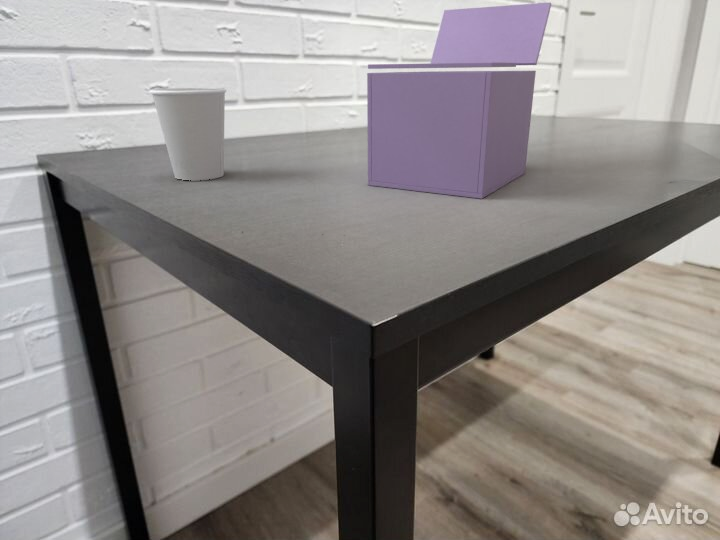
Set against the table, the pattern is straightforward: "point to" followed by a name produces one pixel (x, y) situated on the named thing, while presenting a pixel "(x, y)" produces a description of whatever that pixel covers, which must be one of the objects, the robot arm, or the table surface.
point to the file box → (448, 128)
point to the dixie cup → (193, 130)
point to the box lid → (492, 34)
